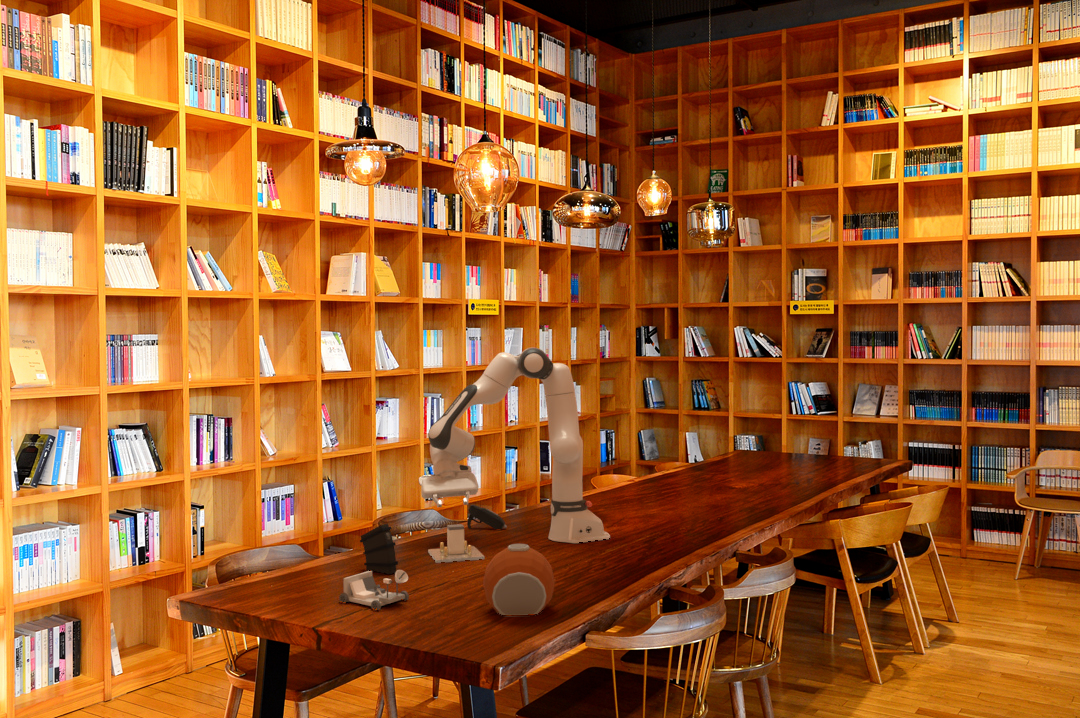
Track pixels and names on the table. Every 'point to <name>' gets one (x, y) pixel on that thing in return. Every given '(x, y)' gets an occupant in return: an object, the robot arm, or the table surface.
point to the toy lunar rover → (372, 590)
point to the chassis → (444, 556)
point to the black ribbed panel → (379, 550)
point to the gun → (485, 517)
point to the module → (455, 539)
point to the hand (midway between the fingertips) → (452, 505)
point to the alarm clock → (518, 581)
